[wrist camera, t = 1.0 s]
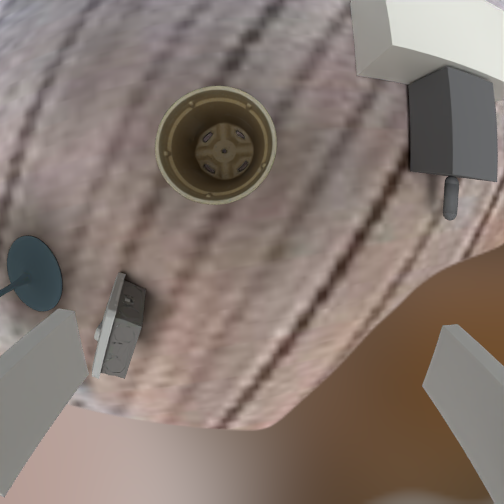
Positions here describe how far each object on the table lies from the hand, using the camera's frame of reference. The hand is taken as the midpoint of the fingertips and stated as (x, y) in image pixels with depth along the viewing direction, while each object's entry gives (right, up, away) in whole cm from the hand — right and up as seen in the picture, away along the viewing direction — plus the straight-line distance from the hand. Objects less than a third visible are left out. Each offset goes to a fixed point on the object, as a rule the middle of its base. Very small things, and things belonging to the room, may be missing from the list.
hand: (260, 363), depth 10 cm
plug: (+20, +18, +19) cm, 33 cm away
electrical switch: (-15, -3, +26) cm, 30 cm away
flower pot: (-3, +14, +21) cm, 26 cm away
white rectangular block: (+20, +27, +17) cm, 38 cm away
